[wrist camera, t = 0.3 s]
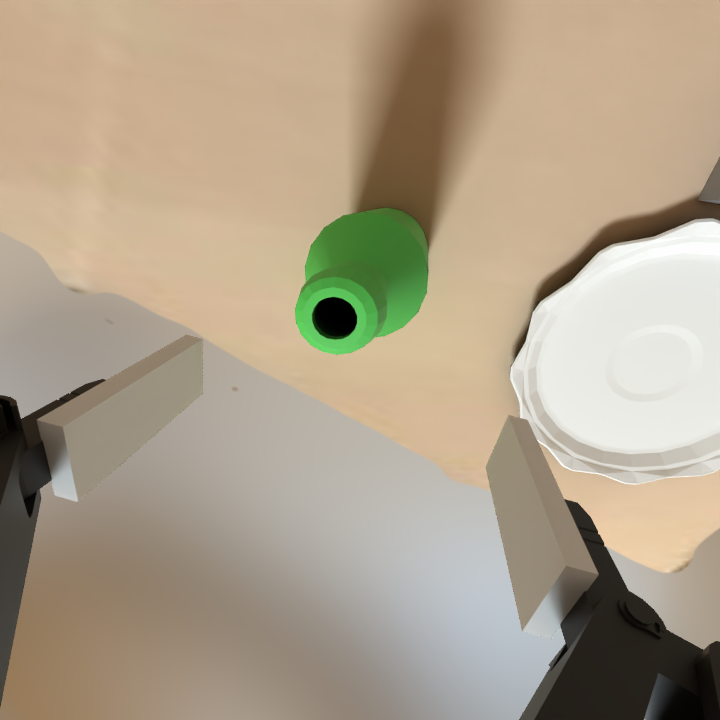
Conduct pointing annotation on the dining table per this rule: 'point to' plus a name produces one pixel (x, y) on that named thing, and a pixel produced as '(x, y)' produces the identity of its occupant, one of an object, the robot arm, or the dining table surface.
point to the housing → (712, 187)
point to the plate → (630, 360)
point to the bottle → (362, 280)
